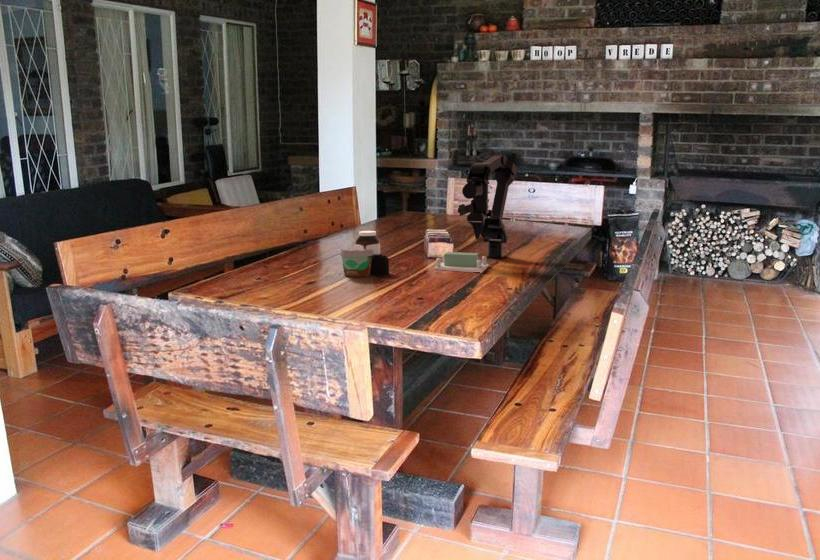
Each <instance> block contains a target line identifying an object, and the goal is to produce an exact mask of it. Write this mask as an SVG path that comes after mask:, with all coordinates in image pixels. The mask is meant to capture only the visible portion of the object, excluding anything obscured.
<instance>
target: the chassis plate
mask: <svg viewBox="0 0 820 560" xmlns="http://www.w3.org/2000/svg"><path fill="white" fill-rule="evenodd" d="M441 256H442V258H440V257H437V258H435V259H436V262H435V263H436V265H435V266H434V267H433V269H434V270H436V271H437V270H438V271H439V270H440V271H448V272H449V271H452V272H463V273H473V272H480V273H479V274H483V272H484V271H485V270H486V269H487V268H488V267H489V263H487V258H486V256H487V255H486V256H485V255H482V257H481V259H479V260H477V267H460V266H444V254H442V255H441ZM441 260H442V262H441Z"/></svg>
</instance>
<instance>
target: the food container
mask: <svg viewBox="0 0 820 560" xmlns="http://www.w3.org/2000/svg"><path fill="white" fill-rule="evenodd" d="M372 255H374V253H373V251H372V249H371V250H366V251H360V250H354V251H350V250H344V249H342V248H341V249H340V251H339V256H341V261H342V268H343V275H344V277H346V278H351V279H364V278H367V277H369V278H370V276H371V275H370V273H371V262H372Z"/></svg>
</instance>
